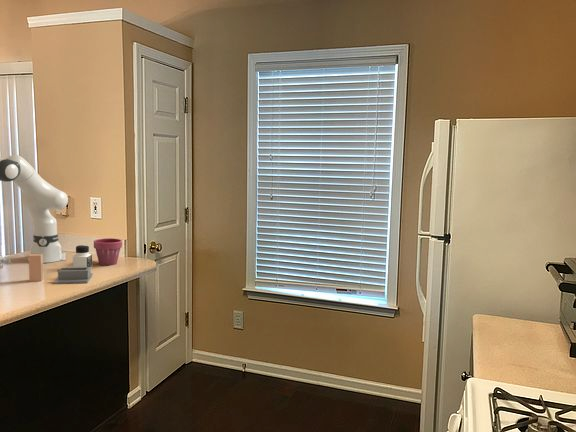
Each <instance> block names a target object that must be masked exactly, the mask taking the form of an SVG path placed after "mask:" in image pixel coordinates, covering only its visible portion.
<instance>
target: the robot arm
mask: <svg viewBox="0 0 576 432" xmlns="http://www.w3.org/2000/svg"><path fill="white" fill-rule="evenodd" d="M0 181H1V182H3V183H4V182H14V184H15V185H17V186H18V187H19V189H20V190H21V191H22V193H21V196H20V201H21V203H22V205H23V206H24V207H26V208H27V210H28V212H29V213H30V215H31V218H32V222H33V236H32V241H33V243H31V245H30V251H29V253H30V254H43V264H44V263H55V262H58V261H59V262H60V261H65V260H66V258H67V255H66V252H63V250H62V244H61V243H60V242H59V240H60V239H59V233H58V222H57V221H58V220H57V219H56V217H54V216H53V215H52V214H51V212H50V211H57V210H58V211H59V210H63V209H65V208H66V207H67V205H68V202H69V197H68V195H67V193H66V192H64V191H62V190H60V189H59V188H56V187H55V186H54V185H52V184H51V183H49V182H48V181H46V179H44V178H42V177H41V175H40V174H39V173H38V172H37V170H35V168H34V167H33V166H32V164H30V163H29V162H28V161H27V160H26V159H25V158H24V157H23V156H20V155H18V154H11V155H9V156H8V157H6V158H4V157H0ZM30 254H29V255H30ZM26 261H28V262H29V257H28V258H26ZM9 264H11V259H6V258H3V256H2V255H0V270H1V269H3V268H4V265H9Z"/></svg>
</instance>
